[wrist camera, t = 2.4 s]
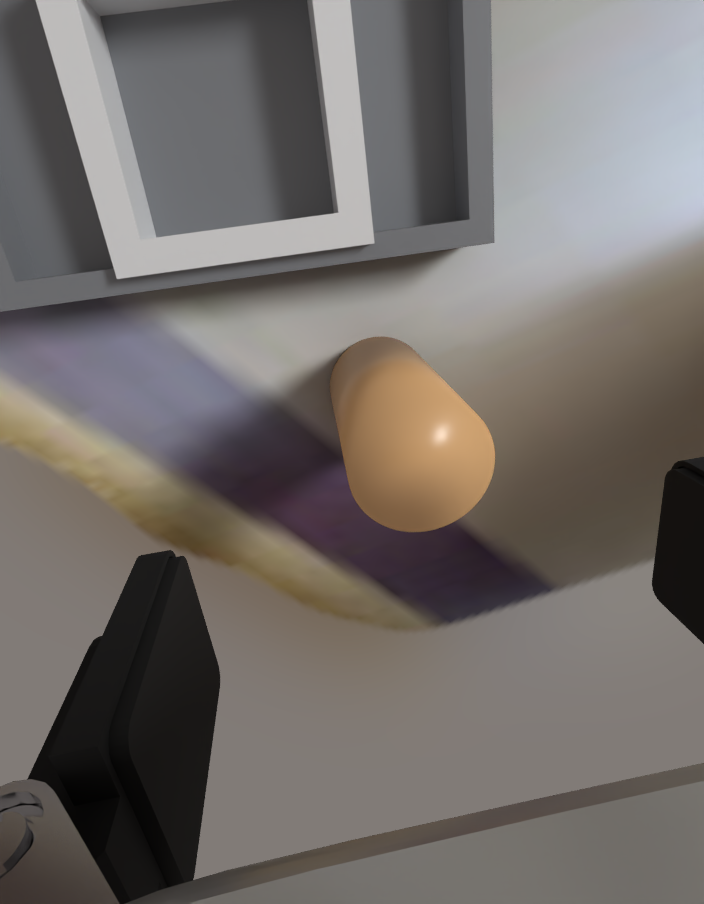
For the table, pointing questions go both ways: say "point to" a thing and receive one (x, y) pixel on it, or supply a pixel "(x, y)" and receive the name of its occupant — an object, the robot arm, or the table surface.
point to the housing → (236, 139)
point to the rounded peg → (407, 438)
